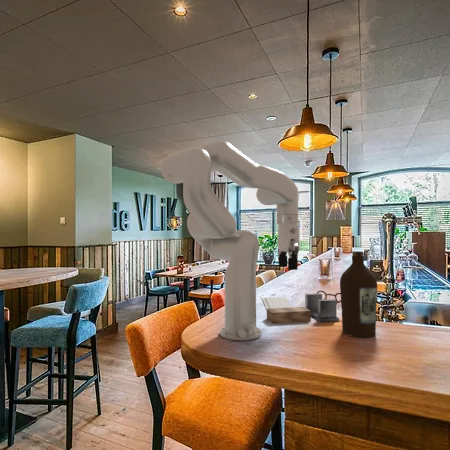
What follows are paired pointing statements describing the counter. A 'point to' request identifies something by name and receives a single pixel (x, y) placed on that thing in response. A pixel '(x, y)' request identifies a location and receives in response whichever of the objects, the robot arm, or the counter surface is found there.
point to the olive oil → (358, 299)
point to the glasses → (331, 295)
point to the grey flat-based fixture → (321, 307)
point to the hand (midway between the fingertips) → (287, 268)
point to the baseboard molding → (276, 302)
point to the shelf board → (288, 315)
